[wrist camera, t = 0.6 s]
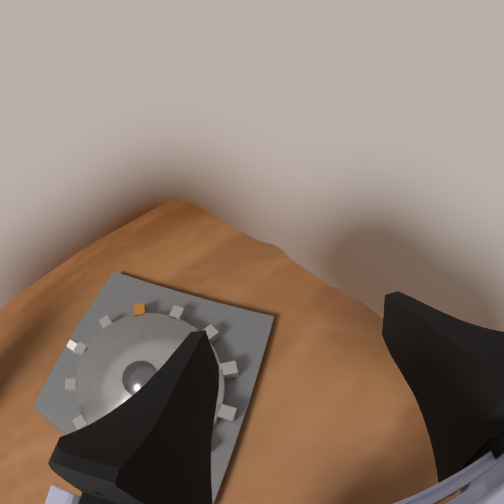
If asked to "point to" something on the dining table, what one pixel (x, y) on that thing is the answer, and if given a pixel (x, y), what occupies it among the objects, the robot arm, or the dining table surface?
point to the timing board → (197, 314)
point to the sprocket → (134, 361)
